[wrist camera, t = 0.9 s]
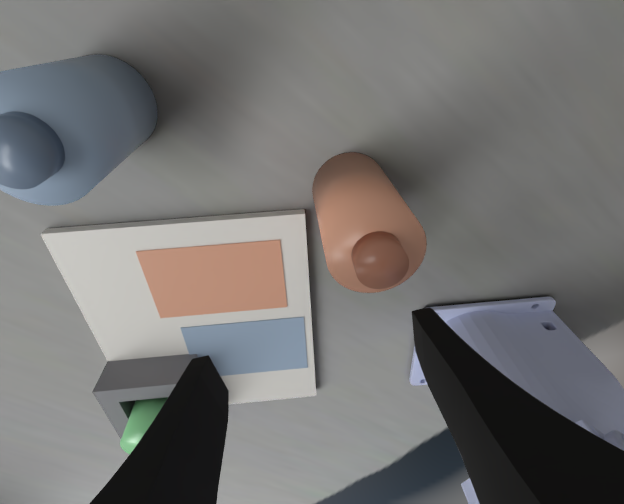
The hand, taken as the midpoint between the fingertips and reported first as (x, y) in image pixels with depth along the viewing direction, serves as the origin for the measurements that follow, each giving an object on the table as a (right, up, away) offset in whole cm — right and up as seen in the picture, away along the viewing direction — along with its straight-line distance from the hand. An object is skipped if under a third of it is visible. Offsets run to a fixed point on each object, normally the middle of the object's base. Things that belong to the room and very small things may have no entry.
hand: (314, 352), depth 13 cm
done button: (-11, -7, +12) cm, 18 cm away
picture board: (-7, -1, +11) cm, 14 cm away
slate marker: (-9, +10, +4) cm, 14 cm away
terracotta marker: (+2, +7, +7) cm, 10 cm away
